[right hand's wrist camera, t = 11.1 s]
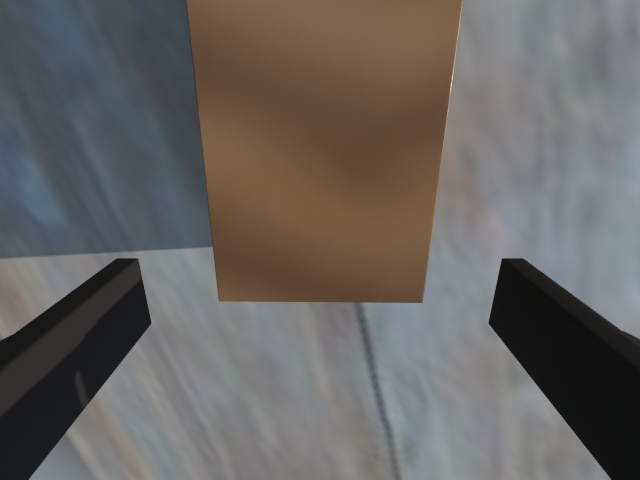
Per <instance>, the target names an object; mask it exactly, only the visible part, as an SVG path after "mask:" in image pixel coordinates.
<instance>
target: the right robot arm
mask: <svg viewBox="0 0 640 480" xmlns="http://www.w3.org/2000/svg"><path fill="white" fill-rule="evenodd" d="M150 325H151V319H150V314H149V309H148V304H147V300H146V295H145V290H144V285H143V280H142V275H141V271H140V266H139V261H138V259H116V260H114V261H113V262H111V263H110V264H109V265H107V266H106V267H105V268H103V269H102V270H101V271H99V272H98V273H96V274H95V275H94V276H92V277H91V278H90V279H88V280H87V281H86V282H84V283H83V284H82V285H80V286H79V287H77V288H76V289H75V290H73V291H72V292H71V293H69V294H68V295H67V296H65V297H64V298H62V299H61V300H60V301H58V302H57V303H56V304H54V305H53V306H52V307H50V308H49V309H48V310H46V311H45V312H43V313H42V314H41V315H39V316H38V317H37V318H35V319H34V320H33V321H31V322H30V323H28V324H27V325H26V326H24V327H23V328H22V329H20V330H19V331H18V332H16V333H15V334H13V335H11V336H9V337H7V338H5V339H3V340H1V341H0V480H29V478H30V477H31V476H32V474H33V473H34V472H35V471H36V469H37V468H38V467H39V466H40V464H41V463H42V462H43V461H44V459H45V458H46V457H47V455H48V454H49V453H50V452H51V450H52V449H53V448H54V447H55V445H56V444H57V443H58V441H59V440H60V439H61V438H62V436H63V435H64V434H65V433H66V431H67V430H68V429H69V427H70V426H71V425H72V424H73V422H74V421H75V420H76V419H77V417H78V416H79V415H80V413H81V412H82V411H83V410H84V408H85V407H86V406H87V405H88V403H89V402H90V401H91V400H92V398H93V397H94V396H95V394H96V393H97V392H98V391H99V389H100V388H101V387H102V386H103V384H104V383H105V382H106V380H107V379H108V378H109V377H110V375H111V374H112V373H113V372H114V370H115V369H116V368H117V366H118V365H119V364H120V363H121V361H122V360H123V359H124V358H125V356H126V355H127V354H128V352H129V351H130V350H131V349H132V347H133V346H134V345H135V344H136V342H137V341H138V340H139V339H140V337H141V336H142V335H143V333H144V332H145V331H146V330H147V328H148V327H149V326H150ZM489 325H490V326H491V327H492V328H493V330H494V331H495V332H496V333H497V335H498V336H499V337H500V339H501V340H502V341H503V342H504V344H505V345H506V346H507V347H508V349H509V350H510V351H511V352H512V354H513V355H514V356H515V358H516V359H517V360H518V361H519V363H520V364H521V365H522V366H523V368H524V369H525V370H526V372H527V373H528V374H529V375H530V377H531V378H532V379H533V380H534V382H535V383H536V384H537V386H538V387H539V388H540V389H541V391H542V392H543V393H544V394H545V396H546V397H547V398H548V400H549V401H550V402H551V403H552V405H553V406H554V407H555V408H556V410H557V411H558V412H559V413H560V415H561V416H562V417H563V419H564V420H565V421H566V422H567V424H568V425H569V426H570V427H571V429H572V430H573V431H574V433H575V434H576V435H577V436H578V438H579V439H580V440H581V441H582V443H583V444H584V445H585V447H586V448H587V449H588V450H589V452H590V453H591V454H592V455H593V457H594V458H595V459H596V461H597V462H598V463H599V464H600V466H601V467H602V468H603V469H604V471H605V472H606V473H607V474H608V476H609V477H610V478H611V480H640V339H638V338H636V337H634V336H632V335H630V334H628V333H626V332H624V331H621V330H620V329H618V328H617V327H616V326H614V325H613V324H612V323H610V322H609V321H607V320H606V319H605V318H603V317H602V316H601V315H599V314H598V313H597V312H595V311H594V310H592V309H591V308H590V307H588V306H587V305H586V304H584V303H583V302H582V301H580V300H579V299H578V298H576V297H575V296H573V295H572V294H571V293H569V292H568V291H567V290H565V289H564V288H563V287H561V286H560V285H558V284H557V283H556V282H554V281H553V280H552V279H550V278H549V277H548V276H546V275H545V274H544V273H542V272H541V271H539V270H538V269H537V268H535V267H534V266H533V265H531V264H530V263H529V262H527V261H526V260H524V259H502V261H501V266H500V271H499V275H498V280H497V285H496V290H495V295H494V300H493V304H492V309H491V314H490V319H489Z"/></svg>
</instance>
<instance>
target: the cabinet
mask: <svg viewBox="0 0 640 480" xmlns="http://www.w3.org/2000/svg"><path fill="white" fill-rule="evenodd" d="M186 4H187V14H188V23H189V32H190V41H191V50H192V59H193V68H194V78H195V87H196V96H197V105H198V114H199V123H200V132H201V142H202V151H203V160H204V169H205V178H206V187H207V197H208V206H209V215H210V224H211V233H212V242H213V251H214V261H215V270H216V279H217V288H218V297H219V301H267V302H391V303H423V296H424V289H425V281H426V274H427V266H428V259H429V251H430V244H431V236H432V229H433V221H434V214H435V206H436V199H437V191H438V184H439V176H440V169H441V161H442V154H443V146H444V139H445V131H446V124H447V116H448V109H449V101H450V94H451V86H452V79H453V71H454V64H455V56H456V49H457V41H458V34H459V26H460V19H461V11H462V4H463V0H186Z"/></svg>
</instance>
